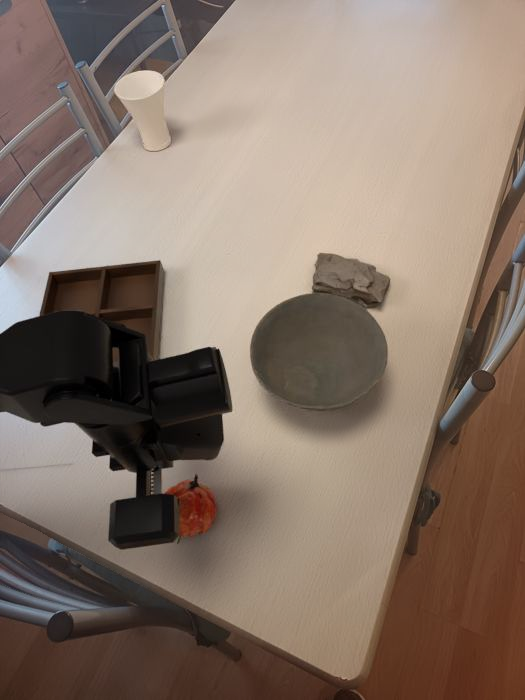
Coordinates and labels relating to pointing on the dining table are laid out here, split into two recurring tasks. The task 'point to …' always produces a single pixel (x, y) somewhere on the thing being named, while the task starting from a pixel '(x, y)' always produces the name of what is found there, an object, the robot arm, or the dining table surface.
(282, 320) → the bowl
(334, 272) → the rock
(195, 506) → the red round fruit
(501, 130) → the dining table surface
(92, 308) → the four compartment tray
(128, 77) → the cup
